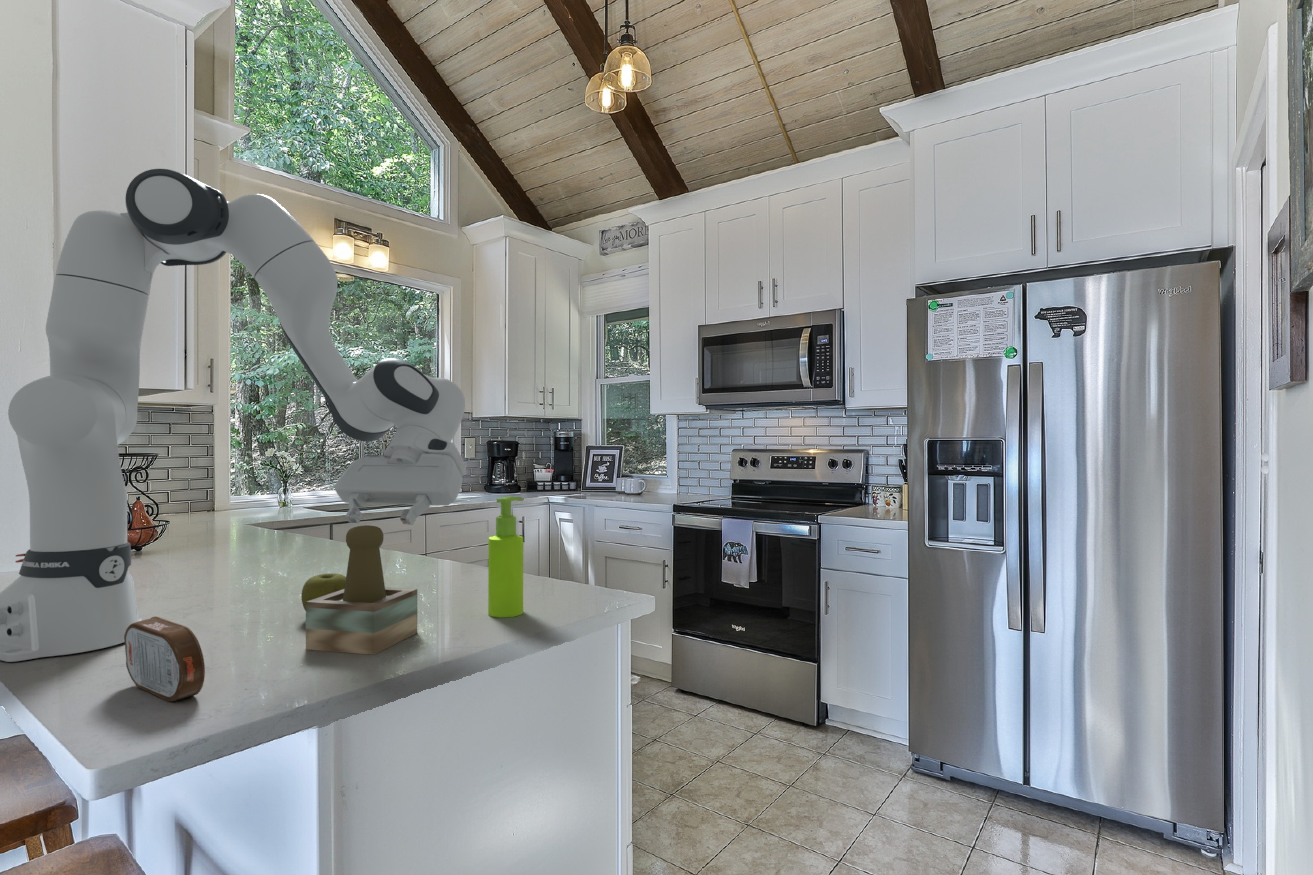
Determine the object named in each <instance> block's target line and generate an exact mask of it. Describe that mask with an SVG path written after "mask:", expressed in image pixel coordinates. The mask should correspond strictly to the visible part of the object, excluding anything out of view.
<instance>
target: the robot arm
mask: <svg viewBox="0 0 1313 875" xmlns="http://www.w3.org/2000/svg"><path fill="white" fill-rule="evenodd" d="M124 198H125V207H126V211H127V212H115V211H111V210H91V211H85V212H83V213H82V214H79V215H78V216H77V217H76V218H75V219H74V221H73V222H72V225H71V227H70V229H69V231H68V233H67V236H66V238H65V241H64V243H63V246H62V249H61V252H60V254H59V259H58V262H57V267H56V270H55V276H54V280H53V286H52V291H51V296H50V302H49V308H48V313H47V318H46V324H45V334H46V337H47V341H48V349H49V350H48V353H49V375H47V376H44V377H41V378H38V379H36V380H33V381H31V382H29V383H27V384H25V385H24V386H22V387H21V388H20V389H18V391H17V392H15V393H14V394H13V397H12V398H11V400H10V402H9V404H8V411H7V412H8V413H7V414H8V420H9V423H10V425H11V428H12V429H13V431H14V432H15V434H16V436H17V442H18V443H17V444H18V448H19V454H20V459H21V462H22V466H23V471H24V474H25V480H26V484H27V485H26V486H27V489H28V497H29V498H28V499H29V500H28V502H29V549H27V551H26V552H25V553H18V554H15V557H23V558H21V559H18V560H15V563H17V564H18V563H21V566H20V569H19V572H18V574H19V577H18V578H16V579H15V580H14V581H13V582H11V583H10V584H9V585H8V586H6V587H5V588H4V589H2V590H1V591H0V661H3V662H7V663H9V662H11V663H12V662H13V663H14V662H20V661H21V662H22V661H27V660H32V659H39V658H46V657H47V658H48V657H55V656H65V655H72V654H78V653H84V652H90V651H91V652H92V651H95V650H100V649H104V648H109V647H113V646H117V645H119V644H122V643H125V640H124V635H125V632H126V629H127V628H128V627H129V625H131V624H133V623H135V622H138V621H142V620H143V618H139V614H138V606H137V605H138V604H137V597H136V596H137V595H136V589H135V582H134V578H133V576H132V574H130V572H129V567H130V566H131V565H132V556H133V550H132V547H131V546H132V544H131V542H129V541H128V490H127V487H126V485H125V482H124V481H125V480H124V476H123V471H122V466H121V462H120V454H119V445H120V444H122V443H123V442H125V441H126V440H127V439H128V438H129V436H131V434H132V433H133V431H134V430H135V428H136V426H137V422H138V405H139V392H140V391H139V390H140V377H141V376H140V374H141V373H140V372H141V371H140V370H141V369H140V366H141V365H140V364H141V360H140V358H141V346H142V337H143V332H144V327H145V322H146V316H147V311H148V310H147V309H148V305H149V304H148V303H149V298H150V292H151V286H152V281H153V276H154V273H155V270H156V269H157V266H159V264H161V265H163V266H166V267H175V266H176V267H177V266H179V267H180V266H202V265H207V264H208V265H209V264H212V263H214V262H217V261H219V260H220V259H222V258H223V257H224V256H225V255H226V254H227V253H228V254H230V255H232V256H233V257H235V258H236V260H237V261H239V262H240V263H241V264H242V265H243V266H244V268H245V269H246V270H247V272H248V273H249V274H250V275H251V277H252V278H253V279H254V280H255V282H256V283H257V284H258V286H260V288H261V289H262V291H263V293H264V294H265V295H266V297H267V298H268V300H269V301H270V303H271V305H272V307H273V309H274V311H275V312H276V315H277V318H278V321H279V324H280V328H281V330H282V333H283V334H284V337H285V338H286V340H287V342H288V344H289V345H290V347H291V349H292V350H293V351H294V354H296V356H297V358H298V360H299V361H300V362H301V364H302V366H304V369H306V371H307V373H308V375H309V376H310V377H311V379H312V380H313V382H314V383H315V385H316V386H317V388H318V389H319V391H320V392H321V394H322V396H323V398H324V399H325V401H326V403H327V405H328V408H329V411H330V414H331V417H332V419H333V421H334V423H335V424H336V426H337V427H338V428H339V430H341V431H342V433H344V434H345V435H347V436H348V437H349V438H352V439H353V440H357V441H361V442H367V443H368V442H375V441H377V440H380V439H381V438H383V437H384V436H385V435H386V434H387V433H388V432H389V431H390V430H391V429H392V428H394V426H395V427H396V432H395V434H394V435H393V437H392V439H391V440H390V442H389V443H388V445H387V447H386V449H385V451H384V454H375V455H373V454H365V455H364V456H363V457H359V458H357V459H355V460H353V462H352V463H351V464H350V465H349V466H348V467H347V468H346V469H345V471H343V472H342V474H341V475H340V477H339V478H338V480H336V482H335V484H334V489H335V490H334V491H335V492H336V494H337V495H338V497H339V498H340V500H342V502H344V503H346V504H348V508H349V509H348V510H347V512H346V514H345V519H346V521H347V522H348V523H350V524H351V523H352V524H360V522H361V519H362V518H363V517H364V515H363V513H362V512H361V510H360V508H363V506H364V505H365V504H372V505H373V504H374V505H375V504H379V505H409V506H410V505H412V506H411V507H410V508H408V509H403V511H402V514H401V515H400V517H399V518H400V520H399V521H401V523H402V524H403V525H404V526H407V525H409V526H410V525H411V526H413V525H414V524H415V522H416V519H417V518H419V517H420V516H421V515H422V514H424V513H425V512H426V511H427V510H429V508H430V507H431V506H444V507H445V506H447V507H448V506H450V505H451V504H452V503H454V502H455V501H456V500H457V498H458V495H459V493H460V491H461V488H462V485H463V480H464V479H463V478H464V477H463V476H464V475H465V473H466V471H467V466H466V464H465V461H464V459H463V457H462V456H461V455H462V454H461V453H460V452H459V450H458V448H457V447H456V445H455V444H454V443H453V442H452V440H453V439H454V437H455V436H456V434H457V431H458V429H459V428H460V424H461V423H462V420H463V417H464V414H465V409H466V399H465V398H466V397H465V395H464V393H463V391H462V389H461V388H460V387H459V386H458V385H457V384H456V383H455V382H453V381H452V380H450V379H447V378H444V377H432V376H430V375H427V374H426V373H422V372H421V371H420V370H419V369H418V368H417V367H416V366H414V365H413V364H412V363H410V362H409V361H405V360H403V359H399V358H395V357H393V358H392V357H391V358H390V357H389V358H385V359H381V360H380V361H379V362H378V363H377V364H375V365H374V366H373V367H371V368H370V369H369V370H368V371H367V372H365V373H364V375H363V376H362V377H361V378H359V379H357V377H356V376H355V375H354V373H353V372H352V371H351V368H350V367H349V366H348V364H347V363H346V361H345V360H344V358H343V356H342V354H340V353H341V352H339V350H338V349H337V347H336V346H335V344H334V342H333V339H332V336H331V333H330V319H331V314H332V309H333V306H334V302H335V300H336V296H337V292H338V275H337V273H336V270H335V269H334V266H333V264H332V263H331V261H330V259H329V257H328V256H327V255H326V254H325V251H323V250H322V249H321V247H320V246H319V244H318V243H317V242H316V240H314V238H312V236H311V234H309V233H308V231H307V230H305V228H304V227H303V226H302V225H301V224H300V222H298V220H297V219H296V218H295V217H294V216H293V215H292V214H290V213H289V211H287V209H286V208H284V207H283V206H282V205H281V204H280V203H278V201H276V200H275V199H274V198H272V197H271V196H268V195H265V194H259V193H250V194H246V195H245V194H244V195H242V196H240V197H238V198H235V199H233V200H231V201H229V200H228V201H227V199H226V197H225V195H224V194H223V193H222V192H221V191H220V190H219V189H216V188H213V187H212V186H210V185H207V184H206V183H203V182H202V181H199V180H197V179H195V178H193V177H191V176H189V175H187V174H185V173H182V172H179V171H176V170H173V169H168V168H151V169H149V170H144V171H142V172H141V173H139V174H137V175H136V176H135V177H134V178H133V179H132V180H131V182H129V185H128V187H127V188H126V191H125V197H124Z"/></svg>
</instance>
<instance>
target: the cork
mask: <svg viewBox="0 0 1313 875" xmlns="http://www.w3.org/2000/svg"><path fill="white" fill-rule="evenodd" d="M383 542H384V533H383V530H382V528H380V527H379V526H375V525H370V524H369V525H366V524H365V525H357V526H354V527H351V528H350V529H348V530H347V532H346V535H345V543H346V546H347V547H348V548H349V555H348V561H347V569H346V574H345V575H346V576H345V577H346V582H345V589H344V596H343V601H347V602H364V603H373V602H375V601H378V600H380V599H383V598H385V597H386V592H385V587H386V586H385V585H386V584H385V579H384V572H383V564H382V556H381V551H380V550H381V549H380V548H381V547H382V545H383Z"/></svg>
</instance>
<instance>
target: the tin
mask: <svg viewBox="0 0 1313 875" xmlns="http://www.w3.org/2000/svg"><path fill="white" fill-rule="evenodd" d="M196 636H197V635H196V634H194V632H193V631H192V630H191V628H189V627H188V626H186V625H183V624H180V623H177V622H173V621H171V620H167V619H166V618H163V617H160V616H152V617H150V618H147V619H142V621H138V622H135V623H133V624H131V625H129V627H128V628H127V629H126V632H125V635H124V640H125V642H124V647H125V651H124V652H125V657H126V658H125V659H126V660H125V661H126V662H125V665H126V669H127V672H128V675H129V677H130V679H131V680H132V682H133V684H134V685H135V686H136V687H137V688H139V689H141V690H143V691H145V692H148V693H149V694H151V695H154V696H156V697H158V698H160V699H162V700H165V701H167V702H170V703H171V702H177V701H180V700H182V699H186V698H188V697H193V696H194V697H195V696H197V695H198V694H199V693H200V692H201V691H202V688H203V687H204V682H205V677H206V667H205V666H206V664H205V659H204V658H205V657H204V653H203V650H202V646H201V644H200V642H199V640H198V638H197V637H196Z"/></svg>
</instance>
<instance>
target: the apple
mask: <svg viewBox="0 0 1313 875" xmlns="http://www.w3.org/2000/svg"><path fill="white" fill-rule="evenodd" d="M345 582H346V576H345V575H343V574H340V573H322V574H317V575H314V576H312V577H310V578H308V579H306V581H305V582H304V584H303V585H302V586H303V587H302V589H301V604H302V606H303V609H304V610H305V612H306V602H307V601H310V600H313V599H316V598H319V597H322V596H325V595H328V594H331V593H334V592H337V591H340V590H343V589H345Z"/></svg>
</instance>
